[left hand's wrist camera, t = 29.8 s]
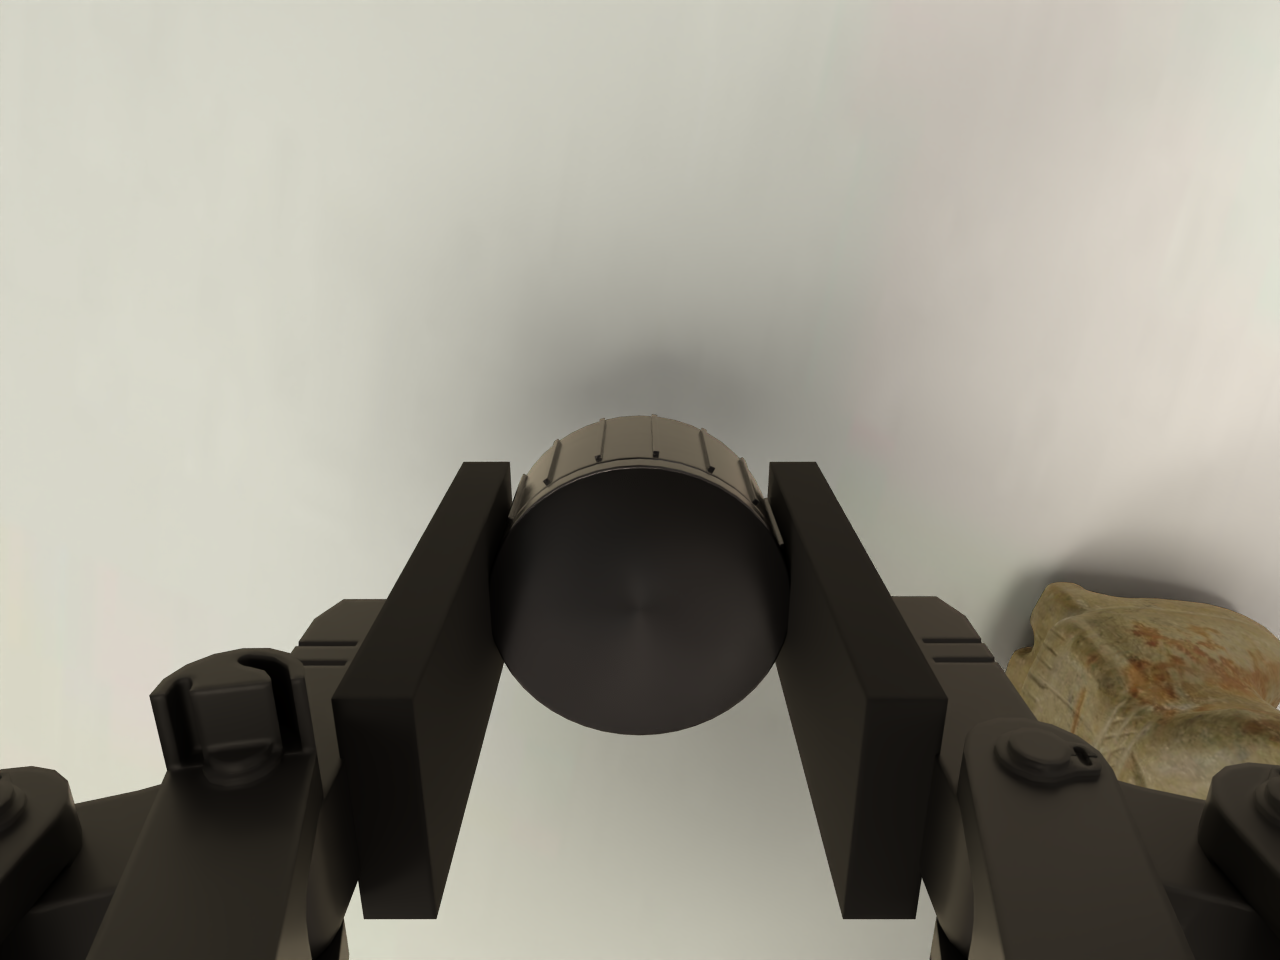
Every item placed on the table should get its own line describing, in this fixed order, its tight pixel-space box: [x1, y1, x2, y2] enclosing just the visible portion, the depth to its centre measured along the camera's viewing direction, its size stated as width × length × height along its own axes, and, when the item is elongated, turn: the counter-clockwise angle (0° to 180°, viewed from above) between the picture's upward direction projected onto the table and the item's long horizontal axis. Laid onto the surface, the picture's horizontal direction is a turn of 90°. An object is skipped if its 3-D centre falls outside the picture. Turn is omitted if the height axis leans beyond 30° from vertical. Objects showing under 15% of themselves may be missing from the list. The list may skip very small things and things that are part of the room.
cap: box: [489, 414, 791, 735], centre depth 13 cm, size 4×4×2 cm
